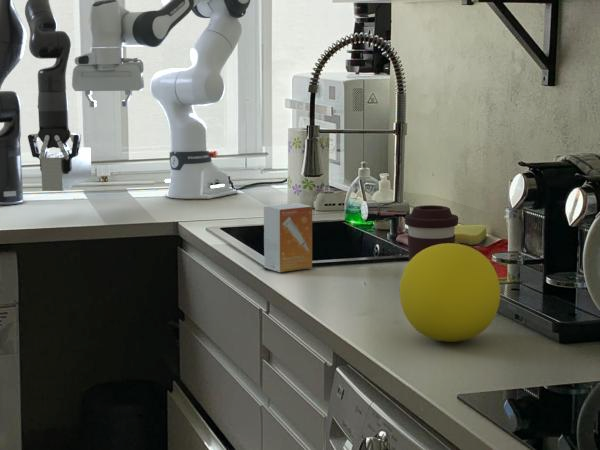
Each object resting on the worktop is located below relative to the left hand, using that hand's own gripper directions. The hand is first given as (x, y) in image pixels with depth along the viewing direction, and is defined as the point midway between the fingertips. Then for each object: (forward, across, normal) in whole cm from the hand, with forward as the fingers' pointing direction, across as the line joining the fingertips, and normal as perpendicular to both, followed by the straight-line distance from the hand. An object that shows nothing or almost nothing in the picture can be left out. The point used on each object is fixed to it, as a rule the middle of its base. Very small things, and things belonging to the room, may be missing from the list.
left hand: (56, 173), depth 275 cm
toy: (+13, -98, +108) cm, 146 cm away
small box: (+13, -67, +56) cm, 89 cm away
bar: (+4, 0, -9) cm, 10 cm away
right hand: (-16, -7, -28) cm, 33 cm away
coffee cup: (+13, -96, +71) cm, 120 cm away
